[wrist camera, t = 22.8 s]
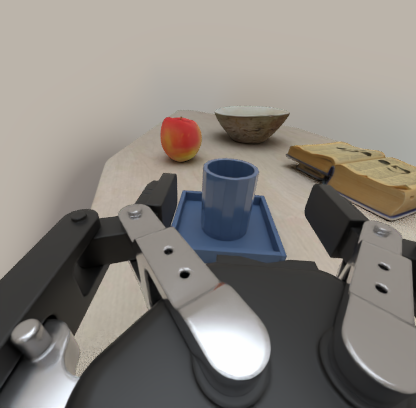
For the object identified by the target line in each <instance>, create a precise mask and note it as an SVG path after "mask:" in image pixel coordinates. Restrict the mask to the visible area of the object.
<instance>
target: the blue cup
mask: <svg viewBox="0 0 416 408" xmlns="http://www.w3.org/2000/svg"><path fill="white" fill-rule="evenodd" d="M258 175H259V171H258V168H257V167H256V166H254V165H253V164H251V163H248V162H246V161H242V160H237V159H227V158H223V159H214V160H210V161H208V162H206V163H205V164H204V166H203V184H202V208H201V228H202V230H203V231H204V233H205V234H207V235H208V236H209V237H211V238H214V239H216V240H220V241H234V240H238V239H240V238H242V237H243V236H244V235H245V234H246V232H247V229H248V226H249V221H250V216H251V211H252V206H253V201H254V195H255V190H256V185H257V180H258Z"/></svg>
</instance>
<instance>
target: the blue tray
mask: <svg viewBox="0 0 416 408" xmlns="http://www.w3.org/2000/svg"><path fill="white" fill-rule="evenodd" d="M201 208H202V192H200V191H185V190H183V192H182V195H181V198H180V201H179V204H178V207H177V210H176V214H175V217H174V220H173V223H172V226H173V227H174V228H175V229H176V230H177V231H178V232H179V233H180V235H181V236H182V237H183V238H184V239H185V241H186V242H187V243H188V244H189V245H190V247H191V248H192V249H193V250H194V251H195V252H196V254H197V255H198V256H199V257H200V258H201V260H202V261H203V262H204V263H212V262H216V257H217V255H230V256H242V257H245V258H249V259H253V260H257V261H260V262H264V263H272V262H279V261H285V259H286V257H287V256H286V253H285V250H284V248H283V245H282V242H281V240H280V237H279V234H278V232H277V229H276V226H275V224H274V221H273V218H272V216H271V213H270V210H269V208H268V205H267V202H266V200H265V197H264V196H259V195H254V201H253V206H252V211H251V216H250V221H249V226H248V229H247V232H246V234H245V235H244V236H243V237H242V238H240V239H238V240H234V241H220V240H216V239H214V238H211V237H209V236H208V235H207V234H205V233H204V231H203V230H202V228H201Z"/></svg>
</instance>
